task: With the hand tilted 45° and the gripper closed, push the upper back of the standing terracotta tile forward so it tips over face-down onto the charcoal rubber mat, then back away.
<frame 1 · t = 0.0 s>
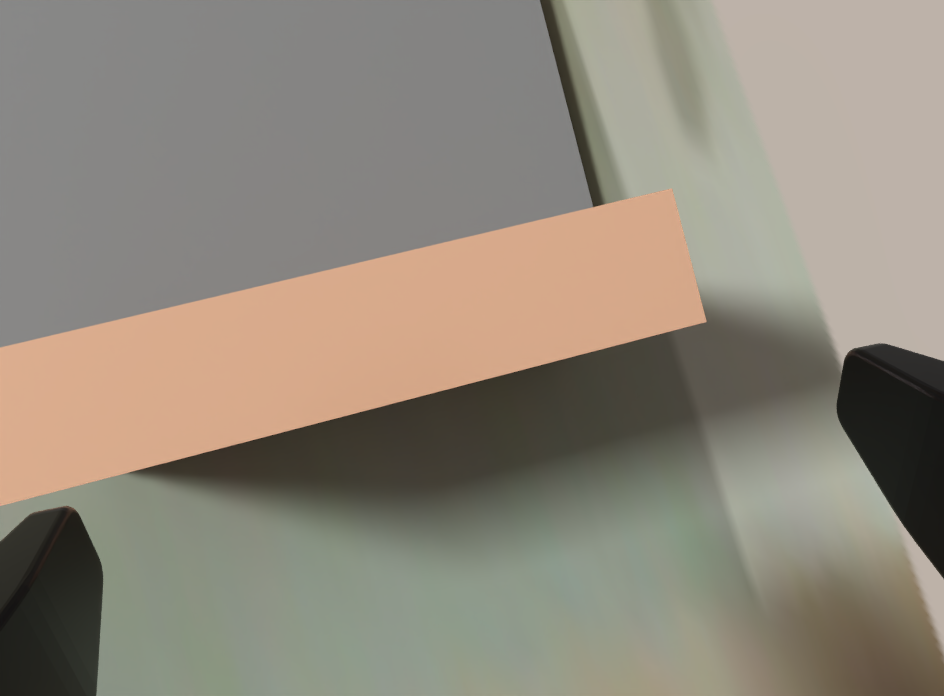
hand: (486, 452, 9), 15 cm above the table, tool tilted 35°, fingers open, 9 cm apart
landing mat: (255, 116, 24), on the table
terracotta tile: (335, 363, 24), on the table
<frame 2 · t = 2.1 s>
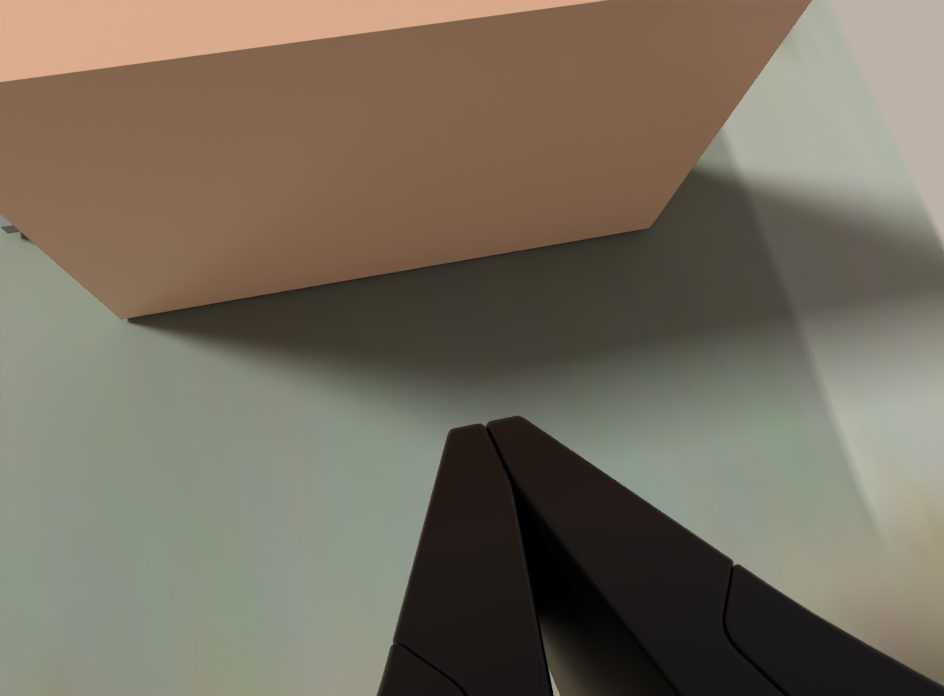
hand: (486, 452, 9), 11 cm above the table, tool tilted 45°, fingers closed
terracotta tile: (387, 228, 22), on the table
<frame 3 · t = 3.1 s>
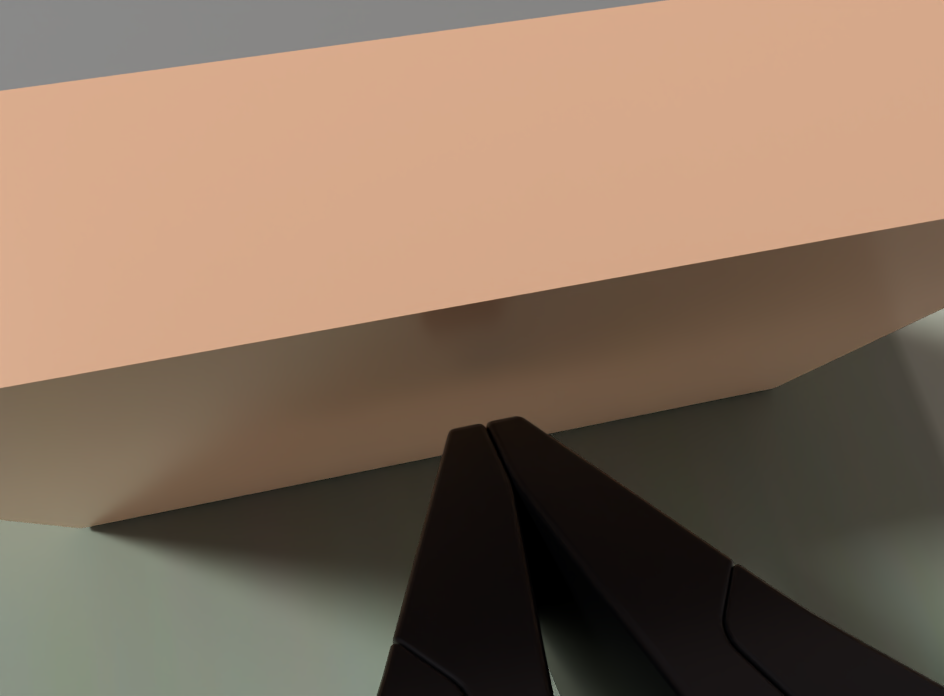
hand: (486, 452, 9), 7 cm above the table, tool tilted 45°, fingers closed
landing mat: (347, 69, 18), on the table
terracotta tile: (434, 393, 17), on the table
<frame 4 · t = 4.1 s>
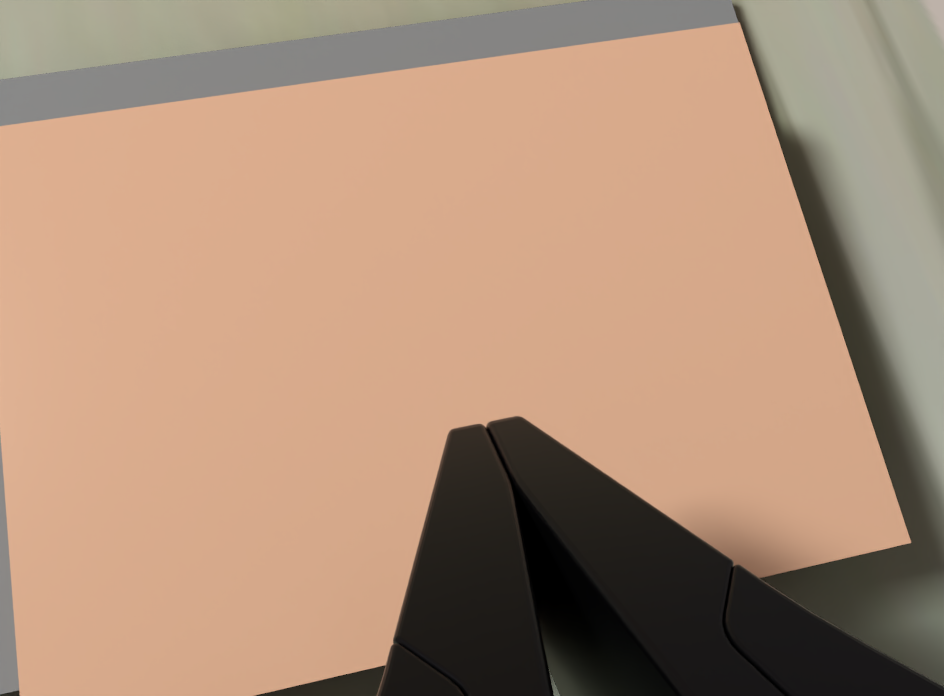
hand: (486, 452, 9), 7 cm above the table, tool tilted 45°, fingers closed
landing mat: (391, 296, 17), on the table
terracotta tile: (490, 632, 14), point 2 cm above the table, tilted 90°, touching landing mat
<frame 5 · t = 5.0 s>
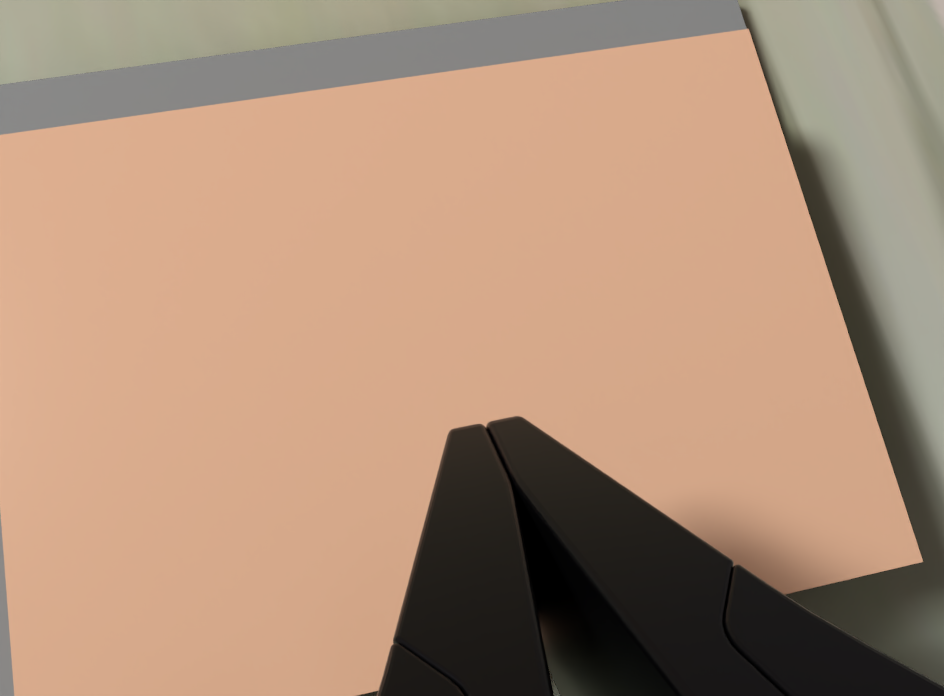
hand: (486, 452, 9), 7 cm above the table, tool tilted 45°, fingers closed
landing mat: (393, 306, 17), on the table
terracotta tile: (495, 651, 14), point 2 cm above the table, tilted 90°, touching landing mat
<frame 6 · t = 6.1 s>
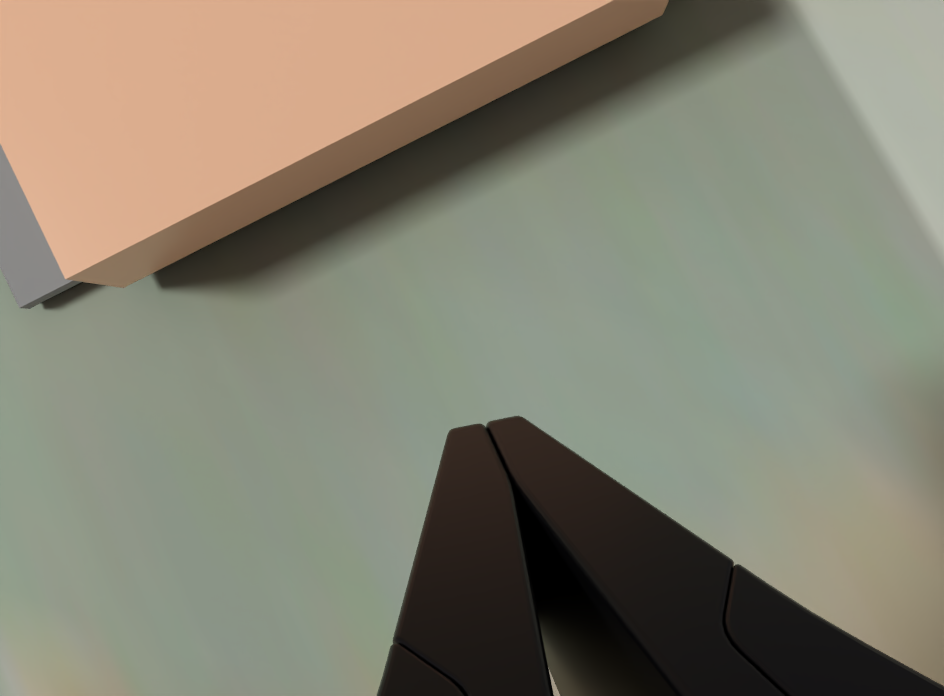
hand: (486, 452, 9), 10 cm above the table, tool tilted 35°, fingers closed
terracotta tile: (379, 140, 18), point 2 cm above the table, tilted 90°, touching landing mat
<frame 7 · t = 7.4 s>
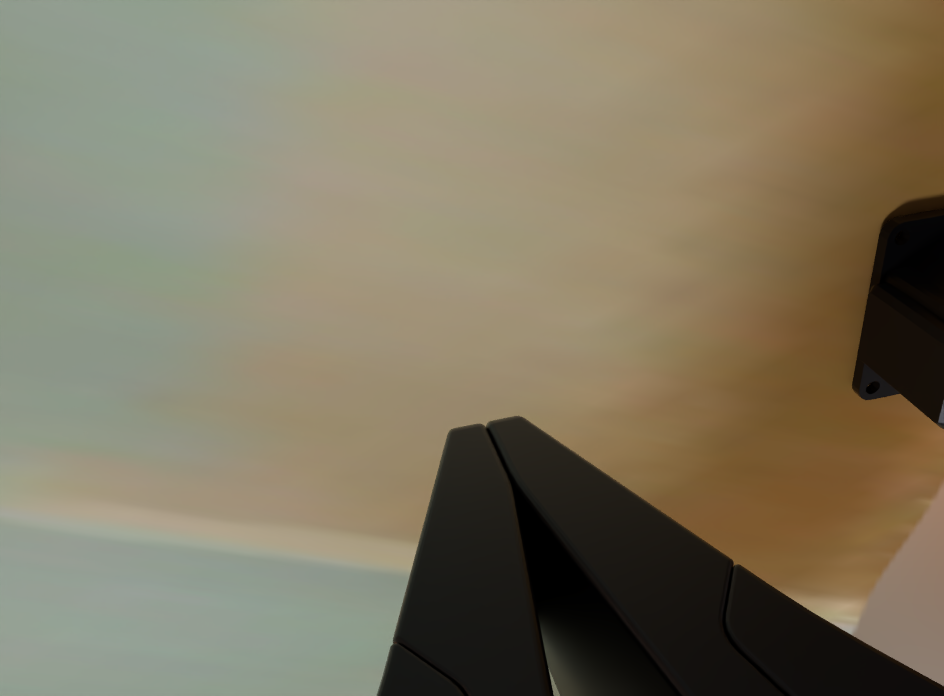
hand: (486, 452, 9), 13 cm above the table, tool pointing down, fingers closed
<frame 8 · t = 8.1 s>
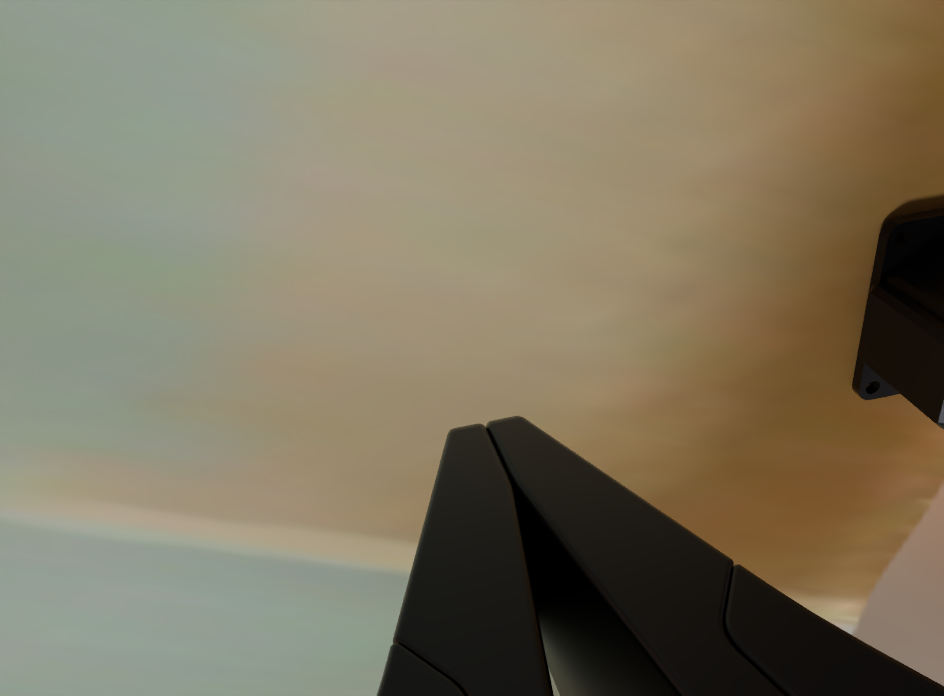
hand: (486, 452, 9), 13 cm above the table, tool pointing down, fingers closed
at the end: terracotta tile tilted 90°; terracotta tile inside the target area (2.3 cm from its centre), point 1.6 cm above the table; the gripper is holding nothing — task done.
